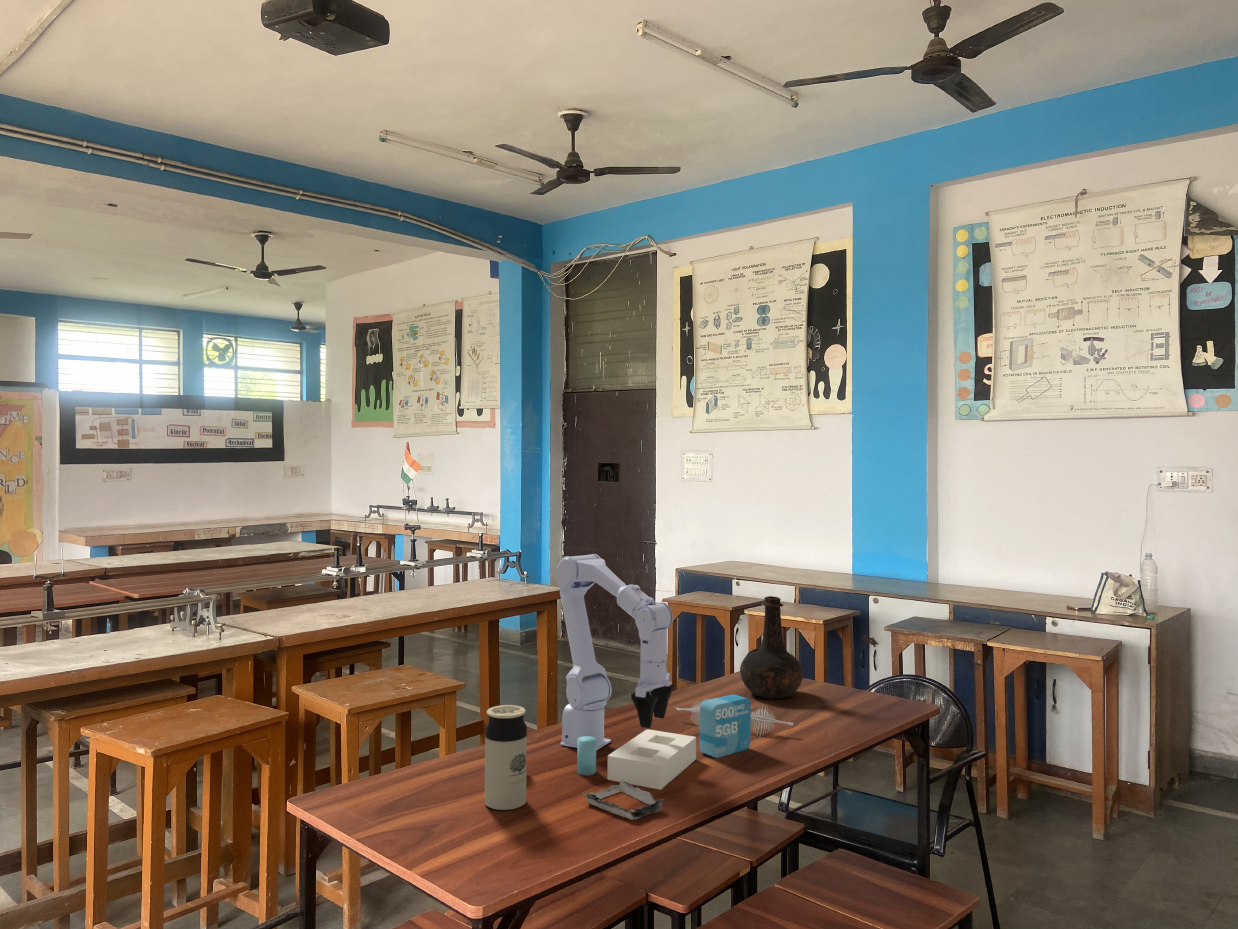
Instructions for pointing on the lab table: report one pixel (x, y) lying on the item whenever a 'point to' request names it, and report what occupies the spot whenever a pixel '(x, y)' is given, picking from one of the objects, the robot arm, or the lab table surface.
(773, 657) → the glass bottle
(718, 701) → the data package
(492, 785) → the travel mug
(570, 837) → the lab table surface
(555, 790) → the lab table surface
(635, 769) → the hole board
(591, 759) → the pin
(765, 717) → the test tube brush
